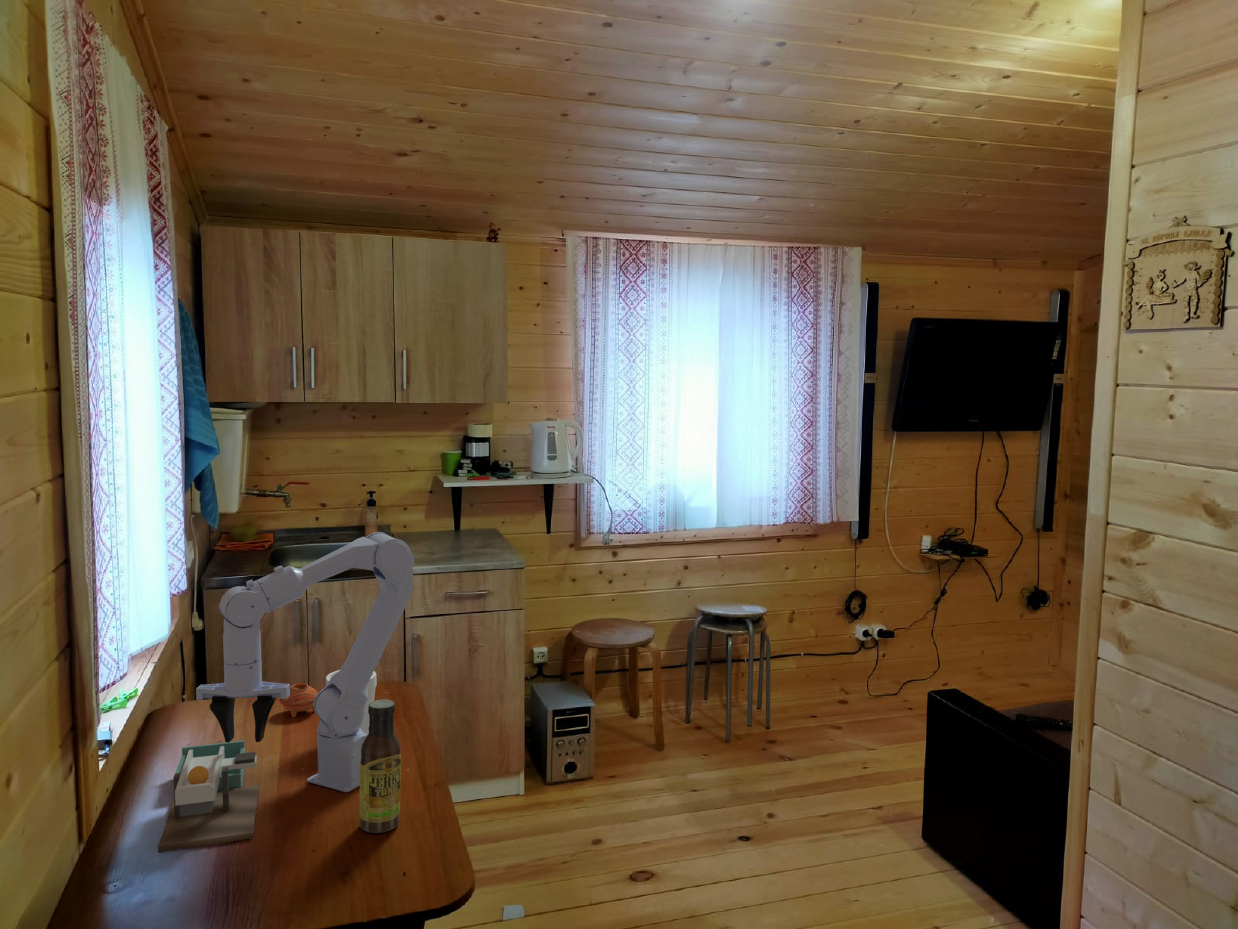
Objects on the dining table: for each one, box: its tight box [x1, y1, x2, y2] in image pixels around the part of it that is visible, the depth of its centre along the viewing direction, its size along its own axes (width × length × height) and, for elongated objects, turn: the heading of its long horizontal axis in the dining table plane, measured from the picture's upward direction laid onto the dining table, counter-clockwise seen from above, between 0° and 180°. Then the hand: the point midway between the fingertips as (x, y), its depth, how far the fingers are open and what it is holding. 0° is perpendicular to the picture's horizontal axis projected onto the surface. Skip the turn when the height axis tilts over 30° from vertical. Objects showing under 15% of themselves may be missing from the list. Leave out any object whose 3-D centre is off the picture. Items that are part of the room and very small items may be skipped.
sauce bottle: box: [358, 698, 402, 834], centre depth 139 cm, size 6×6×20 cm
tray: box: [175, 746, 258, 817], centre depth 142 cm, size 16×11×5 cm, turn 19°
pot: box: [279, 682, 319, 718], centre depth 188 cm, size 8×8×7 cm
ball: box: [188, 766, 209, 785], centre depth 138 cm, size 3×3×3 cm
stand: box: [157, 767, 260, 853], centre depth 141 cm, size 17×13×8 cm
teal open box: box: [175, 739, 246, 791], centre depth 154 cm, size 10×10×5 cm
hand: (244, 740), depth 147 cm, fingers open, 4 cm apart
